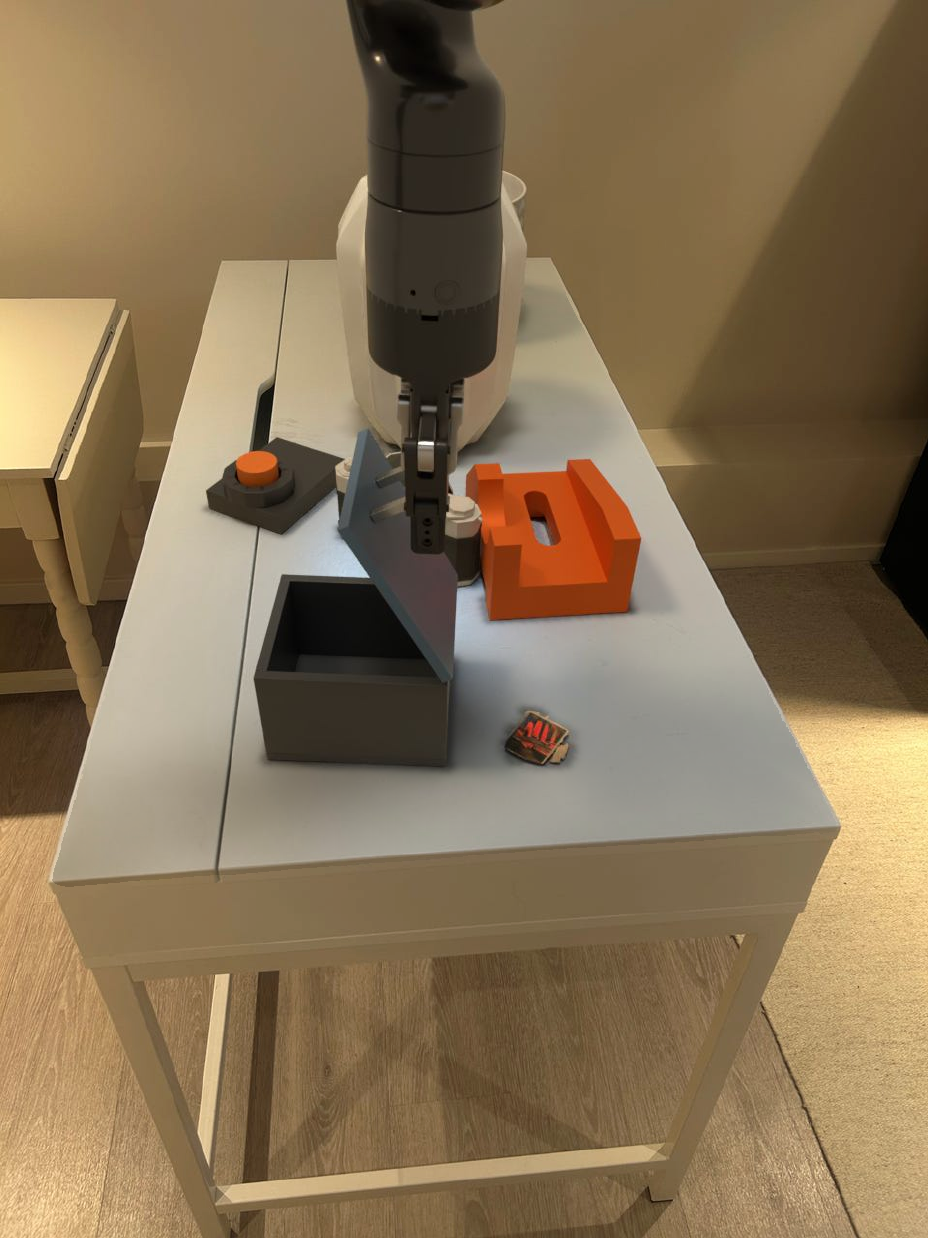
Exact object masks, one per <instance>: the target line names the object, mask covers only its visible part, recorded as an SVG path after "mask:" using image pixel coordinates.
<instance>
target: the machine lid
mask: <svg viewBox="0 0 928 1238" xmlns="http://www.w3.org/2000/svg"><path fill="white" fill-rule="evenodd" d="M352 457H353V460H352V465H351V469H350V474H349V479H348V483H347V488H346V493H345V497H344V502H343V507H342V511H341V516H340V521H339V525H338V527H337V532H338V534H339V536H340V538H341V537H342V538H341V539H343V541H344V543H345V544H346V545H347V547H348V548H349V549H350V551H351V553H352V554H353V555H354V556H355V558H356V560H357V561H358V562H359V564H360V566H361V568H362V569H363V570H364V571H365V573H366V574H367V575H368V578H371V580H372V581H373V583H374V584H375V586H376V587H377V589H378V590H379V591H380V593H381V594H382V596H383V597H384V599H385V600H386V602H387V603H388V604H389V606H390V607H391V609H392V610H393V612H394V613H395V615H396V616H397V617H398V619H399V620H400V622H401V623H402V625H403V626H404V627H405V629H406V630H407V632H408V633H409V635H410V636H411V638H412V639H413V640H414V642H415V643H416V645H417V646H418V648H419V649H420V651H421V652H422V653H423V655H424V656H425V658H426V659H427V661H428V662H429V664H430V665H431V666H432V668H433V669H434V671H435V672H436V674H437V675H438V677H439V678H440V679H441V681H442V682H443V683H444V682H447V681H450V682H451V681H452V680H454V679H453V678H454V664H455V663H454V661H455V644H456V643H455V641H456V623H457V622H456V621H457V601H458V587H457V583H458V574H457V572H456V571H455V569H454V568H453V566H452V564H451V563H450V561H449V559H448V558H447V556H446V555H445V553H444V552H443V553H441V554H417V553H414V552H413V551H412V550H411V517H406V510H405V511H404V502H405V488H404V486H403V484H402V483H401V480H403V479H405V471H404V470H403V469H402V468H401V466H400V467H398V468H395V469H393V468H392V466H391V465H390V463H389V462H388V460H387V458H386V455H385V453H384V451H383V450H382V449H381V447H380V445H379V443H378V442H377V440H376V438H375V436H373V433H372V432H371V430H370V429H369V428H368V427H367V428H365V429H363V430H360V431H358V433H357V438H356V441H355V447H354V451H353V456H352Z"/></svg>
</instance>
